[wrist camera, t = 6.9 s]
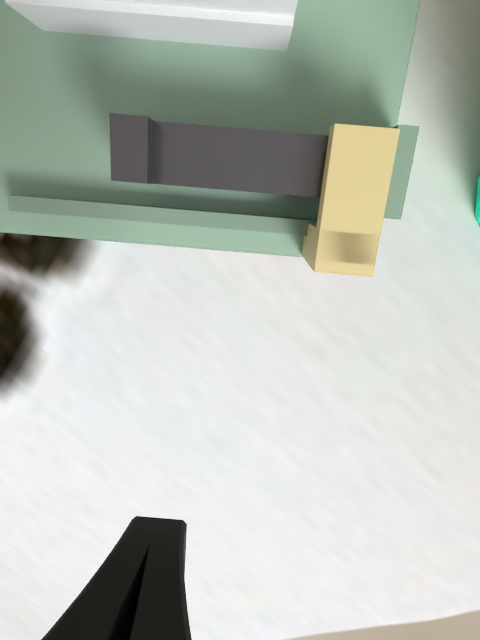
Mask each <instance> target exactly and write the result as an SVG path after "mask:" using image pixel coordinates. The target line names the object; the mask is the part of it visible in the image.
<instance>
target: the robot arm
mask: <svg viewBox="0 0 480 640" xmlns="http://www.w3.org/2000/svg"><path fill="white" fill-rule="evenodd" d="M186 528H187V524H186V523H185V522H184V521H183V520H175V519H163V518H151V517H139V516H136V517H135V518H133V519H132V521H131V522H130V524H129V526H128V527H127V529H126V530H125V532H124V533H123V535H122V537H121V538H120V540H119V541H118V543H117V544H116V545H115V547H114V548H113V550H112V551H111V553H110V554H109V555H108V557H107V558H106V560H105V561H104V563H103V564H102V565H101V567H100V568H99V569H98V571H97V572H96V573H95V575H94V576H93V577H92V579H91V580H90V581H89V583H88V584H87V585H86V586H85V588H84V589H83V590H82V592H81V593H80V594H79V596H78V597H77V598H76V599H75V600H74V602H73V603H72V604H71V605H70V606H69V608H68V609H67V610H66V611H65V613H64V614H63V615H62V616H61V617H60V619H59V620H58V621H57V622H56V623H55V625H54V626H53V627H52V628H51V629H50V631H49V632H48V633H47V634H46V635H45V636H44V637H43V639H42V640H191V633H190V627H189V620H188V612H187V603H186V593H185V582H184V571H185V550H186Z"/></svg>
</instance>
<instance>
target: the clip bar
mask: <svg viewBox="0 0 480 640" xmlns="http://www.w3.org/2000/svg"><path fill="white" fill-rule="evenodd" d="M109 118H110V163H111V181H120V182H132V183H144V184H161V185H173V186H185V187H197V188H209V189H221V190H233V191H245V192H257V193H269V194H281V195H293V196H305V197H317V198H320V197H321V189H322V182H323V175H324V167H325V160H326V153H327V145H328V138H329V136H328V135H316V134H304V133H292V132H279V131H267V130H255V129H243V128H231V127H219V126H207V125H195V124H183V123H171V122H159V121H154V120H153V119H151V118H150V117H148V116H140V115H128V114H116V113H109Z"/></svg>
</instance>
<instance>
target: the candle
mask: <svg viewBox="0 0 480 640" xmlns="http://www.w3.org/2000/svg"><path fill="white" fill-rule="evenodd" d="M475 218H476V220H477V221H478V223H479V225H480V176H479V177H478V185H477V197H476V208H475Z"/></svg>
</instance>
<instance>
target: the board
mask: <svg viewBox="0 0 480 640" xmlns="http://www.w3.org/2000/svg"><path fill="white" fill-rule="evenodd" d="M419 2H420V0H0V232H7V233H19V234H31V235H43V236H55V237H67V238H79V239H91V240H103V241H115V242H126V243H138V244H150V245H162V246H174V247H186V248H198V249H210V250H222V251H234V252H246V253H258V254H270V255H282V256H294V257H304V259H305V260H306V261H307V263H308V264H309V266H310V267H311V268H312V270H313V271H314V272H322V273H334V274H346V275H358V276H370V277H373V271H374V266H375V261H376V255H377V250H378V245H379V239H380V234H381V229H382V223H383V218H390V219H401V216H402V211H403V206H404V201H405V196H406V191H407V186H408V181H409V176H410V171H411V166H412V161H413V156H414V151H415V146H416V141H417V136H418V131H419V126H408V125H397V121H398V116H399V110H400V105H401V99H402V94H403V89H404V83H405V78H406V72H407V67H408V62H409V56H410V51H411V45H412V40H413V35H414V29H415V24H416V18H417V13H418V8H419ZM109 113H116V114H128V115H140V116H148V117H150V118H151V119H153V120H154V121H159V122H171V123H183V124H195V125H207V126H219V127H231V128H243V129H255V130H267V131H279V132H292V133H304V134H316V135H328V136H329V138H328V145H327V153H326V160H325V167H324V175H323V182H322V189H321V197H320V198H317V197H305V196H293V195H281V194H269V193H257V192H245V191H233V190H221V189H209V188H197V187H185V186H173V185H161V184H144V183H132V182H120V181H111V163H110V118H109Z"/></svg>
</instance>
